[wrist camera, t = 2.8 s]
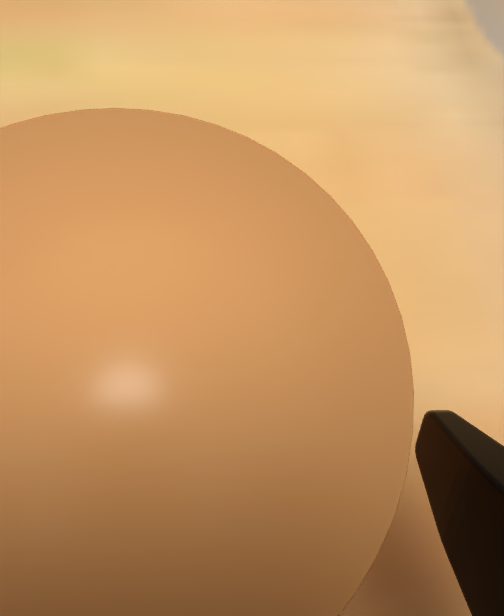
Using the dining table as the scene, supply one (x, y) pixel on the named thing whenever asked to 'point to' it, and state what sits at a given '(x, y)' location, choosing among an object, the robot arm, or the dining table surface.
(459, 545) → the robot arm
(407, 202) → the dining table surface
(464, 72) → the dining table surface
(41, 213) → the peach joystick knob
